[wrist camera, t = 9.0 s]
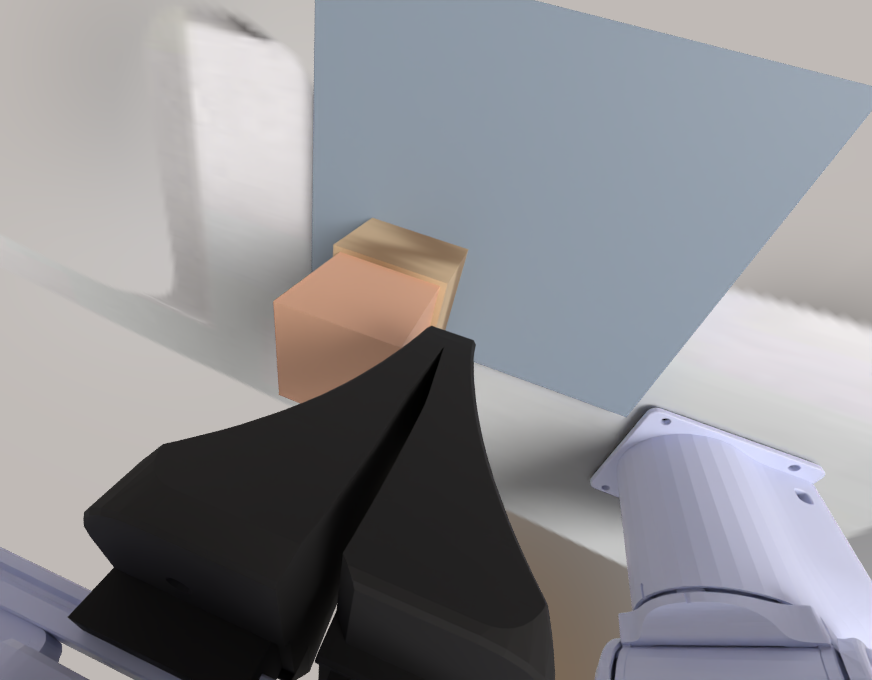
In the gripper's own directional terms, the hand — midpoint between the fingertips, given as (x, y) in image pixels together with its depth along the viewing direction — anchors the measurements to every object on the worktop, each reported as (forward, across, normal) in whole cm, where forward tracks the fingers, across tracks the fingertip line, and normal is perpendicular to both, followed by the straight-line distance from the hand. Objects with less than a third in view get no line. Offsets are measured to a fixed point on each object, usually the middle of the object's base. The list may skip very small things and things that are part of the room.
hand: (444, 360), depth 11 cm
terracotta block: (+6, +4, +3) cm, 8 cm away
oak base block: (+10, +4, +3) cm, 11 cm away
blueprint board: (+10, 0, -1) cm, 10 cm away
